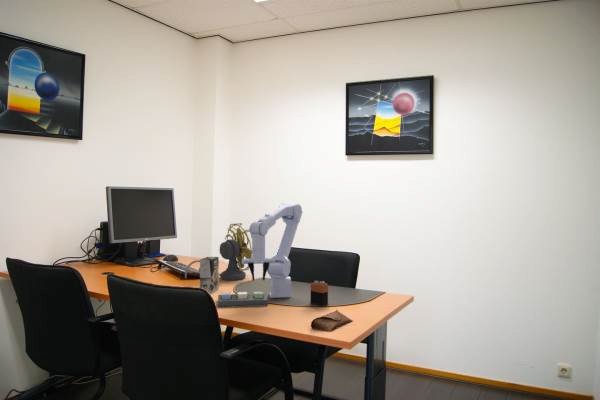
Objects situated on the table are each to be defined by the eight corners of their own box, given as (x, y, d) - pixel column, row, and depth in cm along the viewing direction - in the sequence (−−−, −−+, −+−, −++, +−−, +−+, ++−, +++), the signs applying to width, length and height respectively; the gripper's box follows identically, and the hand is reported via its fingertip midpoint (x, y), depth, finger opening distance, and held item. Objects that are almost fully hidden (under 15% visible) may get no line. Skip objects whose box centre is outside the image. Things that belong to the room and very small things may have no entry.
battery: (321, 306, 208) (322, 283, 207) (310, 303, 212) (310, 280, 212) (328, 304, 211) (328, 281, 211) (316, 301, 216) (316, 279, 215)
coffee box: (212, 293, 230) (212, 259, 229) (199, 292, 231) (199, 259, 231) (219, 289, 239) (219, 256, 238) (206, 288, 240) (206, 256, 240)
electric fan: (257, 280, 261) (257, 224, 260) (201, 287, 243) (201, 227, 242) (235, 272, 283) (235, 221, 282) (182, 278, 265) (182, 223, 264)
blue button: (230, 299, 214) (230, 292, 214) (230, 301, 210) (230, 294, 210) (221, 299, 213) (221, 292, 213) (221, 301, 209) (221, 294, 209)
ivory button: (246, 298, 215) (246, 292, 215) (247, 300, 211) (247, 294, 211) (237, 299, 214) (237, 292, 214) (237, 301, 210) (237, 294, 210)
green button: (262, 298, 216) (262, 291, 216) (263, 300, 212) (263, 293, 212) (253, 298, 215) (253, 291, 215) (254, 300, 211) (254, 293, 211)
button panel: (265, 298, 220) (265, 293, 220) (267, 305, 208) (267, 299, 208) (218, 300, 217) (218, 294, 217) (217, 307, 205) (217, 301, 205)
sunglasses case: (330, 332, 172) (322, 314, 174) (316, 339, 175) (308, 321, 177) (354, 320, 187) (346, 304, 189) (340, 327, 190) (333, 311, 192)
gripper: (242, 250, 208) (242, 282, 208) (276, 250, 210) (275, 281, 211) (241, 248, 215) (241, 279, 215) (274, 248, 217) (274, 278, 218)
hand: (258, 280), depth 213 cm, fingers open, 4 cm apart
